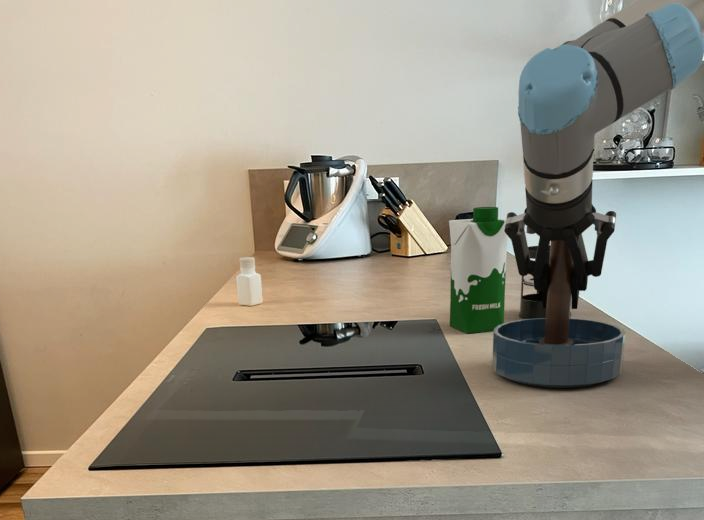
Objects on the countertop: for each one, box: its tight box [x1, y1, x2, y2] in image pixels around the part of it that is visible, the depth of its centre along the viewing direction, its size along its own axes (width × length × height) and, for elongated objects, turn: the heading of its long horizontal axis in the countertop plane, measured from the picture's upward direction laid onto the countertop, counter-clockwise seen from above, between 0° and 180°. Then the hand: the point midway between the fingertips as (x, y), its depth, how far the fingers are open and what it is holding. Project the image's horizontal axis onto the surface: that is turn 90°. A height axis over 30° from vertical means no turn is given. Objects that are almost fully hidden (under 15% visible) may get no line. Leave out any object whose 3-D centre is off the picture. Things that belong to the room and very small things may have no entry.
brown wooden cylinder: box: [538, 240, 574, 345], centre depth 107 cm, size 5×5×16 cm
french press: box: [518, 225, 572, 319], centre depth 140 cm, size 12×9×23 cm
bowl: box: [491, 317, 627, 389], centre depth 108 cm, size 17×17×6 cm
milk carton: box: [448, 206, 509, 334], centre depth 133 cm, size 9×9×20 cm
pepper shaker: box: [235, 256, 264, 307], centre depth 164 cm, size 4×4×10 cm
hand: (561, 300), depth 111 cm, fingers closed on brown wooden cylinder, 3 cm apart
